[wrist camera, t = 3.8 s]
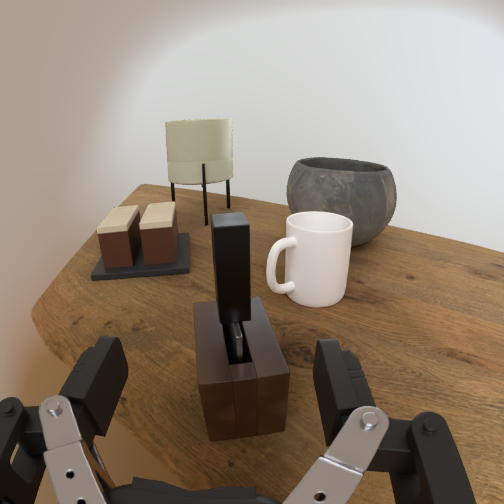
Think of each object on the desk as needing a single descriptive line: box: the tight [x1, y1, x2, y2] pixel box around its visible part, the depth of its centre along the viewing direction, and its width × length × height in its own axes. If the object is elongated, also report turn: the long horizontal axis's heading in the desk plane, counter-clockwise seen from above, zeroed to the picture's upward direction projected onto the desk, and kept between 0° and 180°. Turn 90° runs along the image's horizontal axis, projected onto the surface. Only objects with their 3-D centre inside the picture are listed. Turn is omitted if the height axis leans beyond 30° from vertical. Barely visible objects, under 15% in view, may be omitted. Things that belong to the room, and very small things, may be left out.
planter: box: [165, 118, 233, 225], centre depth 73 cm, size 15×16×23 cm
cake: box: [91, 202, 189, 281], centre depth 53 cm, size 16×16×8 cm
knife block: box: [193, 297, 290, 441], centre depth 25 cm, size 6×10×7 cm, turn 10°
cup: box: [266, 211, 353, 308], centre depth 40 cm, size 8×12×10 cm
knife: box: [211, 212, 251, 365], centre depth 23 cm, size 2×6×16 cm, turn 10°
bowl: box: [287, 157, 397, 247], centre depth 57 cm, size 20×20×15 cm
